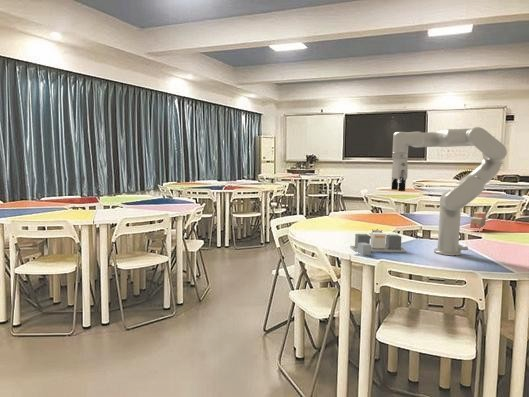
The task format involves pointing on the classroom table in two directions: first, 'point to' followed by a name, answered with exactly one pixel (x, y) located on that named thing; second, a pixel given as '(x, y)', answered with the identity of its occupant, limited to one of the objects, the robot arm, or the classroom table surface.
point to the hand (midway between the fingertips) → (398, 190)
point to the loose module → (378, 240)
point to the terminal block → (364, 249)
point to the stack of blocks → (478, 220)
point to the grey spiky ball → (375, 231)
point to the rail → (391, 246)
